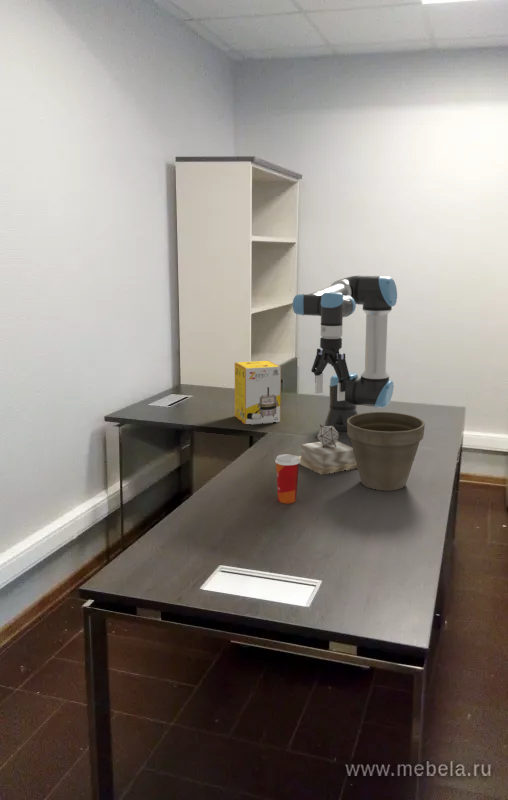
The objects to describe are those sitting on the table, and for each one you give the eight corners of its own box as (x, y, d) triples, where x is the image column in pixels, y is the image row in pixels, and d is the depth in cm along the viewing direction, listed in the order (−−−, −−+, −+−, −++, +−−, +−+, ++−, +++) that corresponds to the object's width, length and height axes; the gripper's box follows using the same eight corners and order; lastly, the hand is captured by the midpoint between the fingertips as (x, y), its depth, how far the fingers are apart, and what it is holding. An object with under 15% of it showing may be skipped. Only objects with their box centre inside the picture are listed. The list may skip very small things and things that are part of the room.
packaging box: (268, 413, 328) (268, 360, 322) (280, 422, 313) (281, 366, 307) (234, 416, 323) (234, 362, 317) (245, 425, 308) (245, 368, 302)
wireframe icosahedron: (331, 457, 253) (339, 440, 245) (309, 448, 254) (316, 431, 246) (338, 440, 259) (346, 423, 251) (317, 431, 260) (324, 413, 252)
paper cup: (283, 494, 224) (283, 452, 221) (303, 499, 220) (304, 456, 217) (269, 501, 218) (269, 458, 215) (290, 506, 214) (291, 462, 211)
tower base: (334, 454, 266) (334, 437, 265) (363, 467, 251) (364, 449, 250) (293, 460, 258) (293, 443, 257) (321, 475, 243) (321, 456, 241)
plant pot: (370, 501, 218) (373, 434, 213) (331, 477, 240) (333, 415, 235) (436, 490, 228) (440, 425, 223) (392, 468, 250) (395, 408, 245)
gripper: (302, 333, 254) (301, 391, 259) (343, 342, 233) (341, 405, 238) (319, 332, 258) (318, 388, 262) (361, 341, 236) (359, 402, 241)
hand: (329, 396), depth 250 cm, fingers open, 13 cm apart
